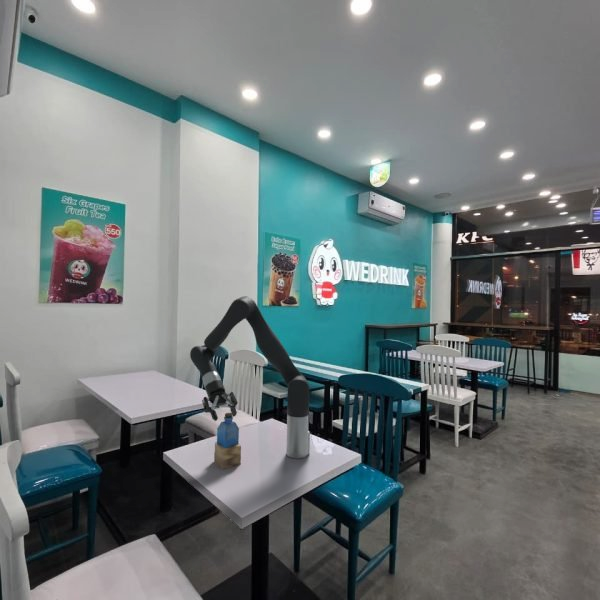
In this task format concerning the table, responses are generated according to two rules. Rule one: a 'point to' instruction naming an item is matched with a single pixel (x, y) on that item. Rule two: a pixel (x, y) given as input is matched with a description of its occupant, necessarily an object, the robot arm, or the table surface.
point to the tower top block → (227, 451)
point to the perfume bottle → (228, 432)
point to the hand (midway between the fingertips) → (225, 417)
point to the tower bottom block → (227, 461)
